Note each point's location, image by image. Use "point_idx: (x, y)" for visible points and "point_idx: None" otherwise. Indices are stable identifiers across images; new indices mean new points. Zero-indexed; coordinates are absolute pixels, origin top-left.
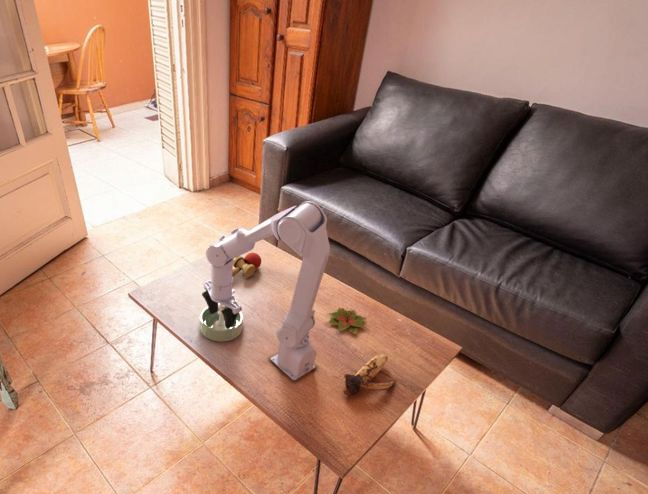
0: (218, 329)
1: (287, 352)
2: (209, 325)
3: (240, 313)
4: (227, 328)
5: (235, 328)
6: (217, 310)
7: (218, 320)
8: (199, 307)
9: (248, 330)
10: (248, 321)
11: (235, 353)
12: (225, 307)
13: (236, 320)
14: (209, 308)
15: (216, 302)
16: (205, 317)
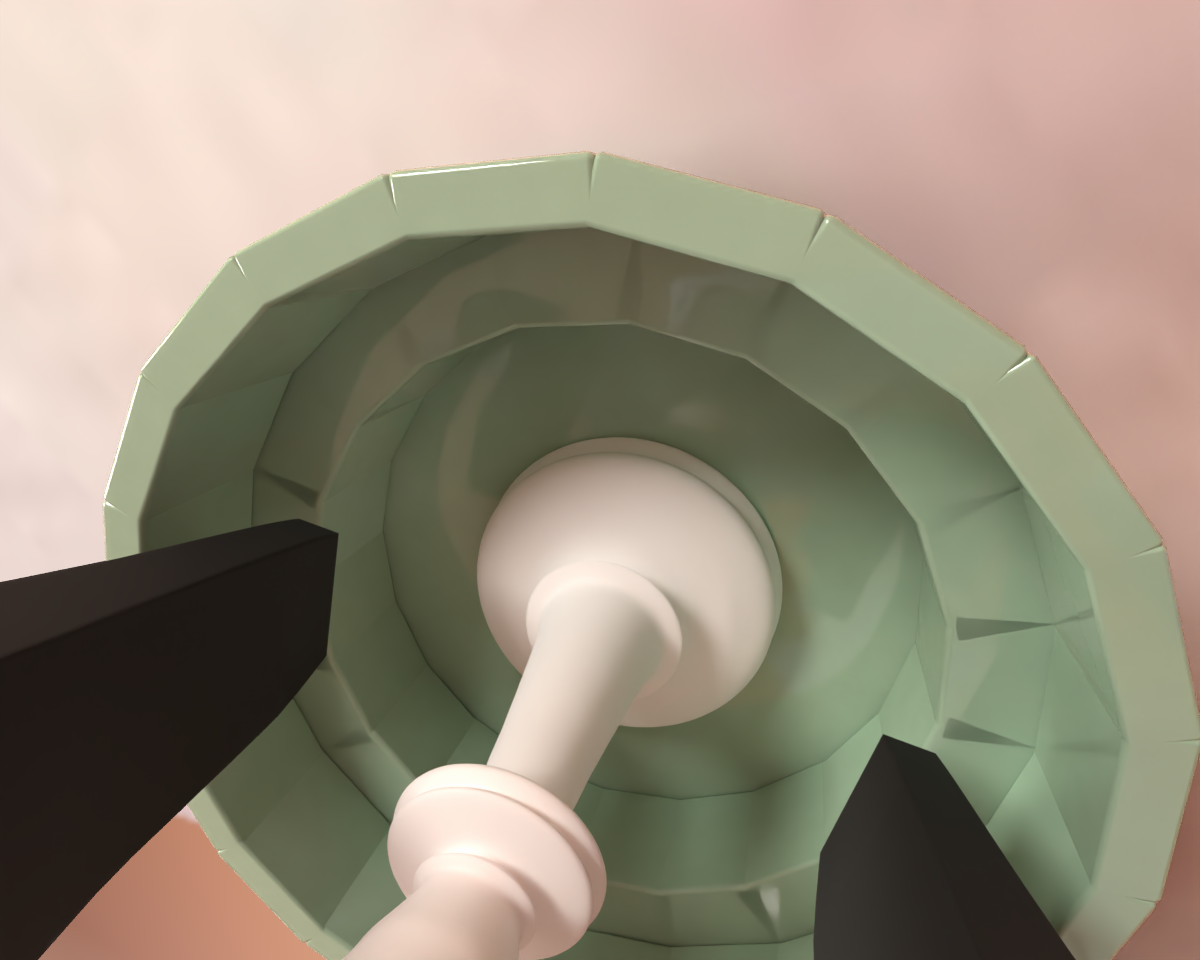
0: (654, 724)
1: None
2: (461, 639)
3: (937, 354)
4: (771, 626)
5: (1121, 921)
6: (302, 402)
7: (500, 543)
8: (67, 352)
9: (1155, 318)
10: (998, 38)
11: (1192, 924)
12: (355, 283)
13: (847, 429)
14: (182, 792)
15: (86, 686)
16: (311, 681)
